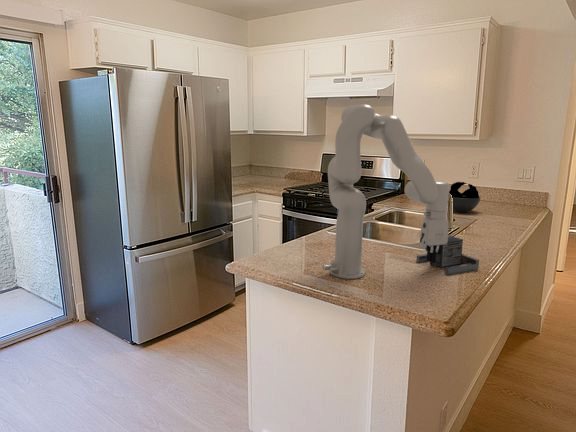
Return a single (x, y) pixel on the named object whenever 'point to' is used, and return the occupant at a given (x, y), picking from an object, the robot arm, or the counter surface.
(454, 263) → the small box
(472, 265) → the rack bay
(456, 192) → the coal bowl
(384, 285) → the counter surface
